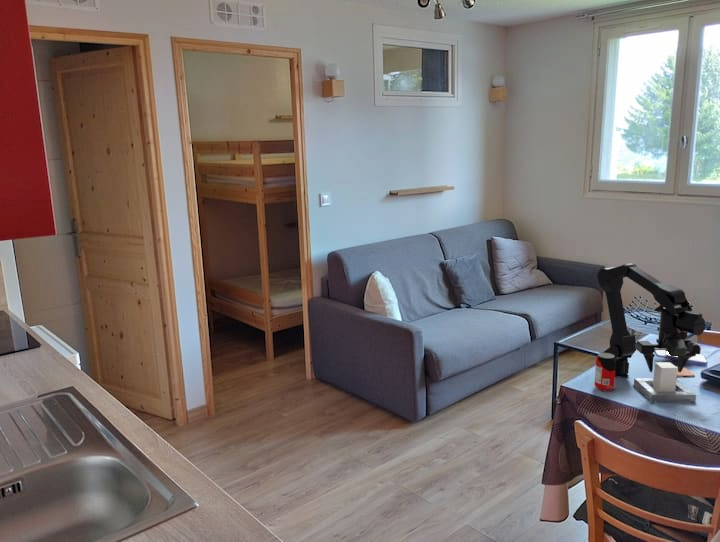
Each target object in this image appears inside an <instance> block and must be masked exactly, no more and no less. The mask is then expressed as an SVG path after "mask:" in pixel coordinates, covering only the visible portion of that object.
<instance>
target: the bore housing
mask: <svg viewBox="0 0 720 542" xmlns="http://www.w3.org/2000/svg"><path fill="white" fill-rule="evenodd" d="M653 378H654V377H647V378H646V377H645V378H644V377H642V378H641V377H635V378H633V386H634V387H635V388H636V389H637V388H638V389H639V390H638V389H637V390H638V391H639V392H640V393H642V394H643V395H644V396H645V395H646V396H647V397H648V398H649V399H650V400H651V401H654V402H653V403H696V400H697V394H696V393H695V392H693V391H692V390H691V389H689V388H688V387H687V386H686V385H684V384H683V383H682V382H681V381H680V380H678V379H677V378H676V389H675V392H656V391H655V390H654V389H653ZM646 396H645V397H646ZM647 397H646V398H647ZM648 398H647V399H648ZM649 399H648V400H649ZM650 400H649V401H650ZM651 401H650V402H651ZM655 401H656V402H655Z"/></svg>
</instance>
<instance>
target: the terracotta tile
mask: <svg viewBox="0 0 720 542" xmlns="http://www.w3.org/2000/svg"><path fill="white" fill-rule="evenodd" d="M675 366H676V367H677V377H678V378H681V377H683V376H694V377H693V378H695V377H696V375H695V374H694V373H692V372H691V371H690V370H689V369H687V367H686V368H685V366H684V367H683V369H682V371H681V372H678V365H675ZM683 378H684V377H683Z"/></svg>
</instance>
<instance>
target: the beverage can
mask: <svg viewBox="0 0 720 542" xmlns="http://www.w3.org/2000/svg"><path fill="white" fill-rule="evenodd" d="M614 357H615V356H614V355H613V354H610V353H603V352H599V353H598V354H597V357H596V358H595V370H594V372H595V373H594V383H593V384H594V386H595V387H596V389H597V388H598V390H599V389H600V390H599V391H602V390H604V391H603V392H610V391H612V390H613V389H615V383H616V382H615V380H616V377H615V371H616V360H615V358H614ZM609 390H610V391H609Z"/></svg>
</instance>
